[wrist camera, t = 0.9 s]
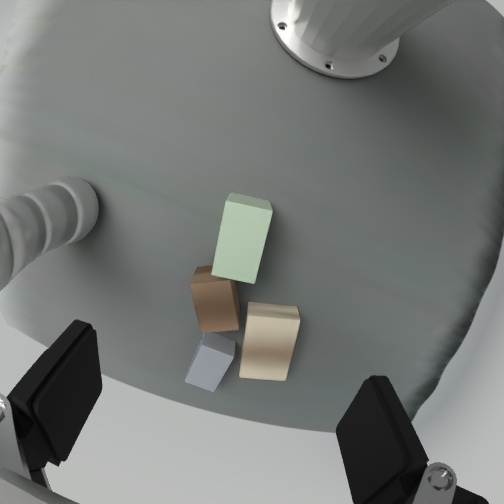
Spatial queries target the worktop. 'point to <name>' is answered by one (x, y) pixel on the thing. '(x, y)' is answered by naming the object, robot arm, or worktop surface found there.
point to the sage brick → (242, 237)
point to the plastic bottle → (44, 222)
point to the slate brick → (210, 361)
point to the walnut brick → (215, 301)
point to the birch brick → (268, 341)
